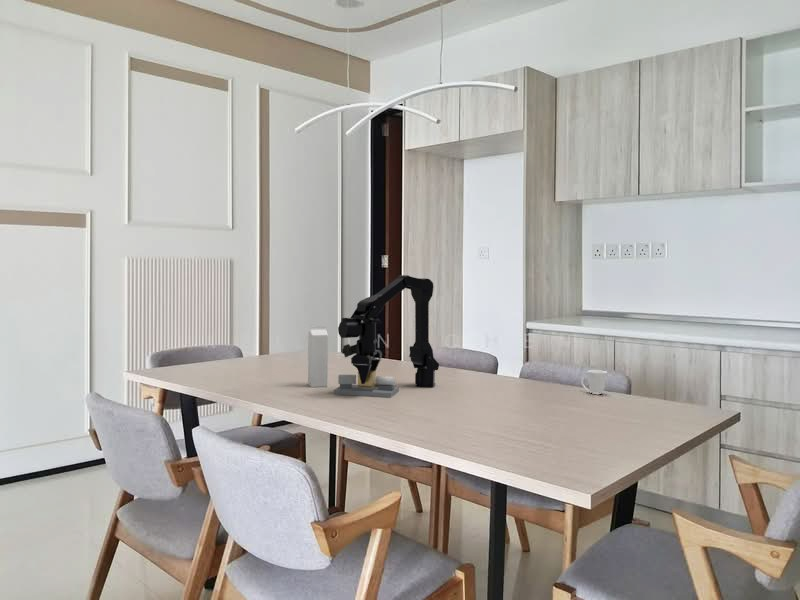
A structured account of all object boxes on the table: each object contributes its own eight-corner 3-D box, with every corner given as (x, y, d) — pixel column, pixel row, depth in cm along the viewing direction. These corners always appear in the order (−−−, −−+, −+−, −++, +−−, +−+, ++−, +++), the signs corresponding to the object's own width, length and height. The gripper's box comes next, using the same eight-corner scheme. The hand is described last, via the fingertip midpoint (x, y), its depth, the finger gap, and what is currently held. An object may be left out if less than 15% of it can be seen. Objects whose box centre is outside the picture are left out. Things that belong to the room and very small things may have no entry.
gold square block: (375, 387, 224) (375, 369, 224) (371, 390, 219) (372, 372, 219) (361, 386, 225) (361, 369, 225) (357, 389, 220) (357, 371, 220)
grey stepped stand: (398, 391, 226) (398, 374, 225) (390, 397, 214) (391, 379, 214) (344, 388, 230) (344, 371, 230) (333, 394, 218) (333, 376, 218)
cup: (599, 396, 222) (600, 373, 222) (575, 392, 230) (575, 369, 230) (611, 394, 226) (611, 371, 226) (587, 390, 234) (587, 368, 234)
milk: (307, 384, 236) (308, 325, 236) (323, 384, 239) (324, 324, 238) (311, 387, 231) (311, 326, 230) (327, 386, 233) (328, 326, 232)
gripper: (352, 333, 232) (352, 376, 233) (336, 338, 214) (336, 384, 214) (382, 334, 230) (382, 378, 230) (368, 339, 211) (368, 386, 212)
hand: (366, 381), depth 222 cm, fingers open, 9 cm apart
